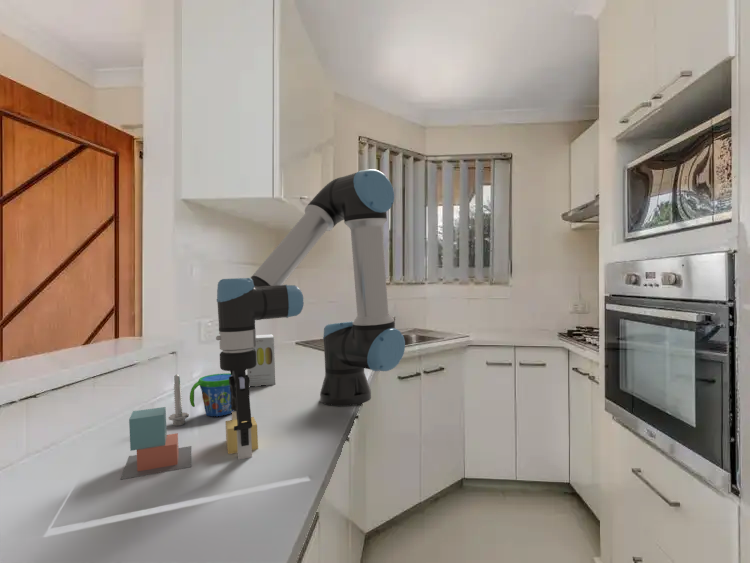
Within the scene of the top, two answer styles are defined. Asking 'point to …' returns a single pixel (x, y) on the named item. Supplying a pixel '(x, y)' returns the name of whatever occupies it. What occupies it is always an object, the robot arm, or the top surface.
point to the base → (133, 465)
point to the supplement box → (263, 362)
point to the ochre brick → (232, 435)
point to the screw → (178, 404)
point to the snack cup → (214, 394)
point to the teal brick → (147, 428)
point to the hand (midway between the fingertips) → (241, 449)
